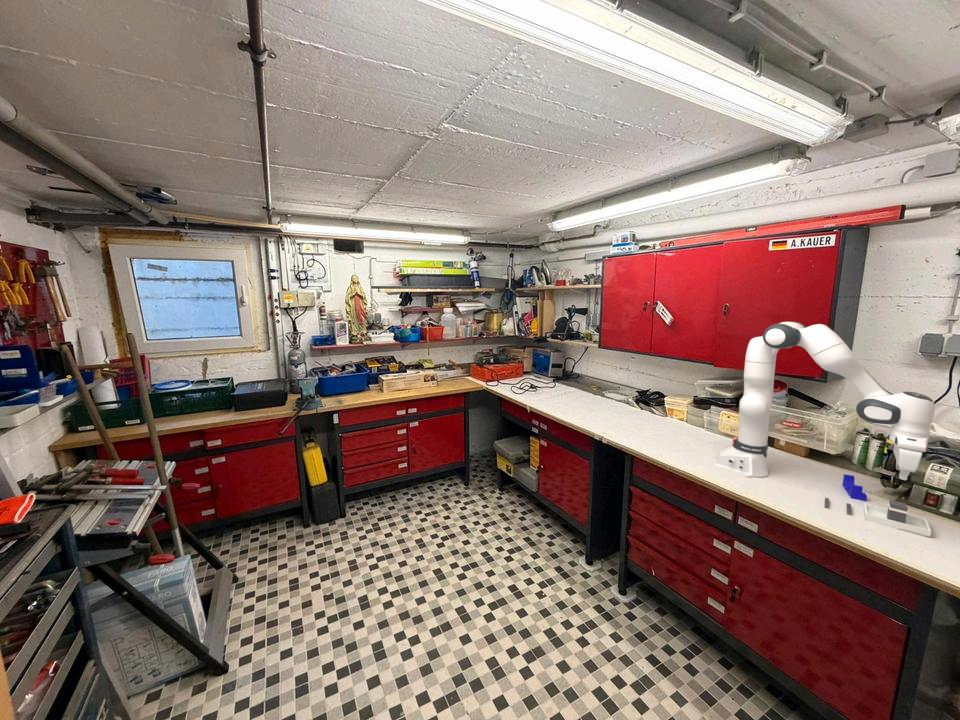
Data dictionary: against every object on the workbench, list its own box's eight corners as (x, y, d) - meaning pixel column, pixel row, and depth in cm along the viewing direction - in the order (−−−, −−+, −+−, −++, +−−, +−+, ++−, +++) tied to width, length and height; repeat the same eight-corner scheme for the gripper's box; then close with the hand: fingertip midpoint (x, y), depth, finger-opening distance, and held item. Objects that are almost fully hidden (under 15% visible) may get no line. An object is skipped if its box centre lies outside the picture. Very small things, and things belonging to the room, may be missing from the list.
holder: (824, 509, 142) (824, 505, 142) (824, 500, 148) (825, 497, 148) (851, 516, 137) (851, 512, 137) (850, 507, 143) (850, 504, 143)
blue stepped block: (865, 502, 147) (868, 488, 146) (850, 499, 149) (852, 485, 148) (856, 489, 157) (858, 476, 156) (842, 486, 159) (843, 474, 158)
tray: (864, 520, 135) (865, 513, 134) (863, 508, 142) (863, 502, 141) (930, 537, 124) (931, 531, 124) (924, 524, 131) (926, 518, 131)
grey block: (887, 521, 133) (890, 504, 132) (886, 516, 136) (888, 499, 135) (905, 526, 130) (908, 508, 129) (903, 521, 133) (906, 503, 132)
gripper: (891, 428, 137) (885, 462, 140) (898, 443, 123) (890, 481, 125) (917, 432, 133) (910, 467, 135) (927, 449, 119) (919, 488, 121)
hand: (900, 474), depth 130 cm, fingers open, 8 cm apart
